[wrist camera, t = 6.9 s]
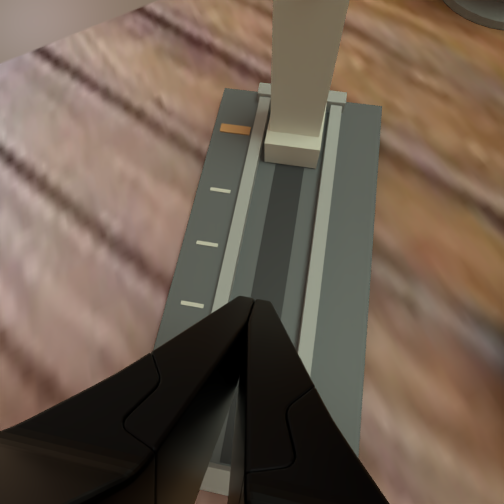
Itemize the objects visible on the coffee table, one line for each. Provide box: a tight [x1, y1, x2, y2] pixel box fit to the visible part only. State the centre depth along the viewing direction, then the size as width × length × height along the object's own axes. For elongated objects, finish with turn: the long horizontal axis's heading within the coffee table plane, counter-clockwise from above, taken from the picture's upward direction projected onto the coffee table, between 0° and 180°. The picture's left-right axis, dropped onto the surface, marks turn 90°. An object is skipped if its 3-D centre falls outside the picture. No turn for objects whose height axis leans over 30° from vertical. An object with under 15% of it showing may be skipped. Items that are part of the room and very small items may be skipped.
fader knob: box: [265, 0, 349, 169], centre depth 19 cm, size 5×4×12 cm
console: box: [154, 83, 382, 496], centre depth 22 cm, size 26×12×2 cm, turn 170°
